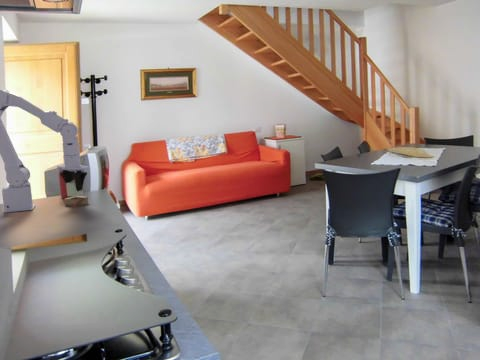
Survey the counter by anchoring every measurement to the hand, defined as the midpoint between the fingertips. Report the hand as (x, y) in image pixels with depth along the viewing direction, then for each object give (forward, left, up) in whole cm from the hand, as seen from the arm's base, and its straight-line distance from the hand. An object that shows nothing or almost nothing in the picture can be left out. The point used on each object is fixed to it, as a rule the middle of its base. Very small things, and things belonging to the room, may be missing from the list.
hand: (75, 190), depth 162 cm
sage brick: (0, 0, -2) cm, 2 cm away
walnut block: (0, 0, -6) cm, 6 cm away
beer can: (-3, +17, -6) cm, 19 cm away
